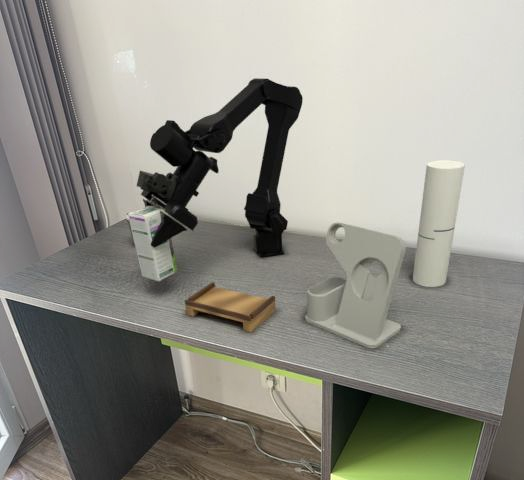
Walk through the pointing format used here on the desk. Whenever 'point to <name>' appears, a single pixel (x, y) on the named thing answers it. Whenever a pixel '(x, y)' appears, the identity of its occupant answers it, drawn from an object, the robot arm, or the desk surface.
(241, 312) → the wooden tray
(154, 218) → the syrup box
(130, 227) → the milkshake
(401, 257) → the phone holder
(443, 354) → the desk surface
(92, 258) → the desk surface
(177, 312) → the desk surface
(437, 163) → the cylindrical container
